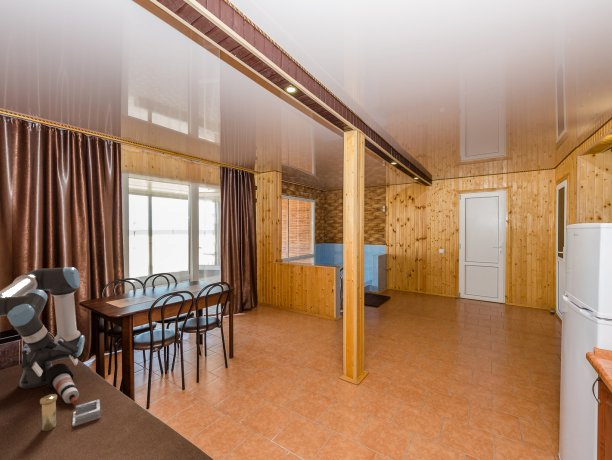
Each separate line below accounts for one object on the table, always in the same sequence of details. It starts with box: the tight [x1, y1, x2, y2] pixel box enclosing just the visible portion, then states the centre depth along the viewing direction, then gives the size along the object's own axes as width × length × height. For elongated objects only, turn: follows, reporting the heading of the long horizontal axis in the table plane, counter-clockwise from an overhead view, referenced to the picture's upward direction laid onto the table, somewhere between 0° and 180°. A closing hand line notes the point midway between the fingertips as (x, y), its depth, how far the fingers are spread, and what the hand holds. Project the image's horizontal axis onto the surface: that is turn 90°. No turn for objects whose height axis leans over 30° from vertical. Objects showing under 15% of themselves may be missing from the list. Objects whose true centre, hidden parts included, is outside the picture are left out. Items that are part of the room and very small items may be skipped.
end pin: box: [39, 393, 58, 432], centre depth 128 cm, size 6×6×13 cm
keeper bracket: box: [71, 399, 101, 427], centre depth 136 cm, size 11×10×4 cm
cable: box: [45, 363, 80, 405], centre depth 153 cm, size 10×34×10 cm, turn 51°
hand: (59, 368), depth 134 cm, fingers open, 13 cm apart
